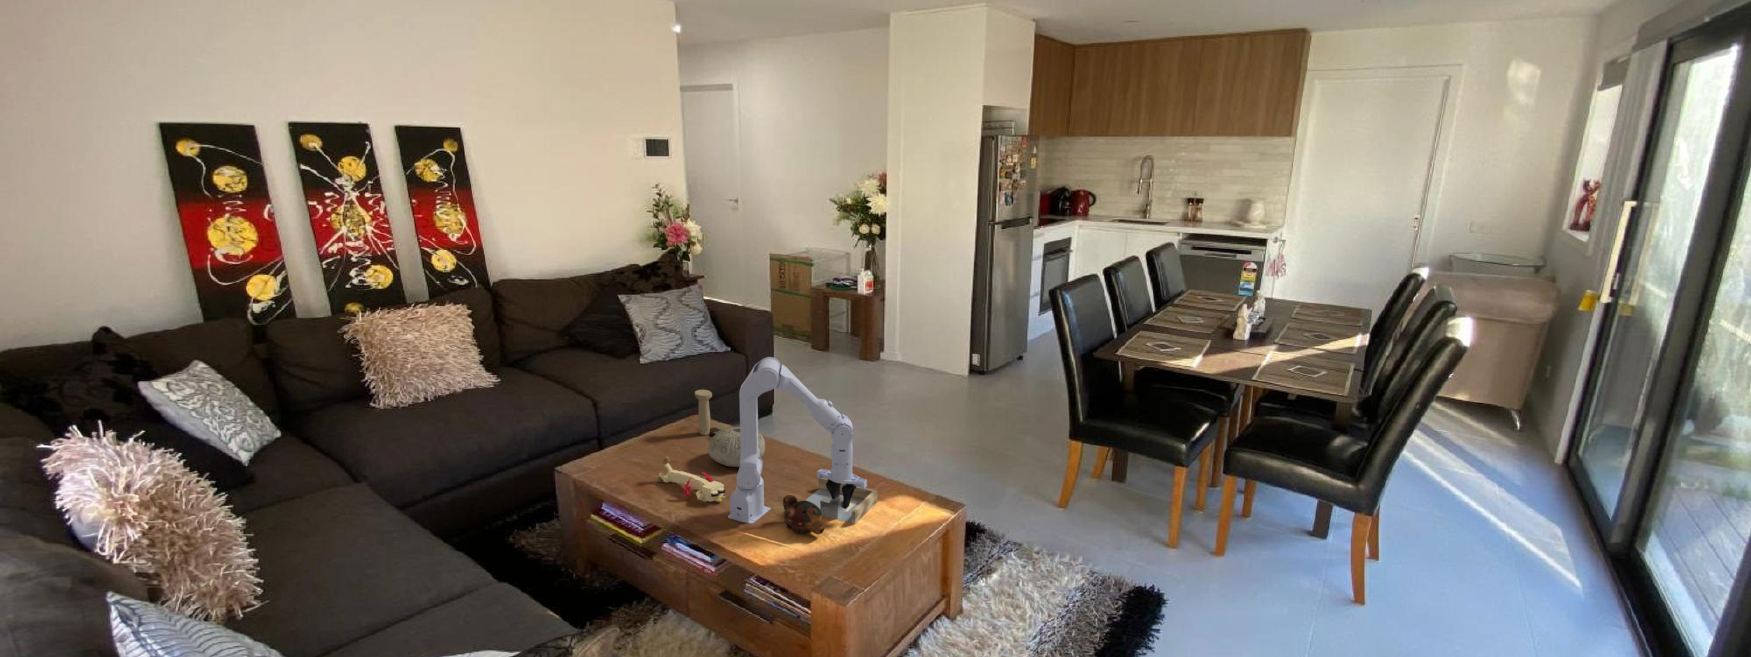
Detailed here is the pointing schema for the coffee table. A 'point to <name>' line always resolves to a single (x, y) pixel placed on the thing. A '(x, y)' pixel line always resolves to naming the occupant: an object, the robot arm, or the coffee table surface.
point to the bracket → (832, 506)
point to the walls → (863, 494)
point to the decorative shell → (730, 447)
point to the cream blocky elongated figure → (694, 483)
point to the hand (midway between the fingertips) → (841, 506)
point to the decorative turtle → (802, 515)
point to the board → (821, 494)
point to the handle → (704, 410)
